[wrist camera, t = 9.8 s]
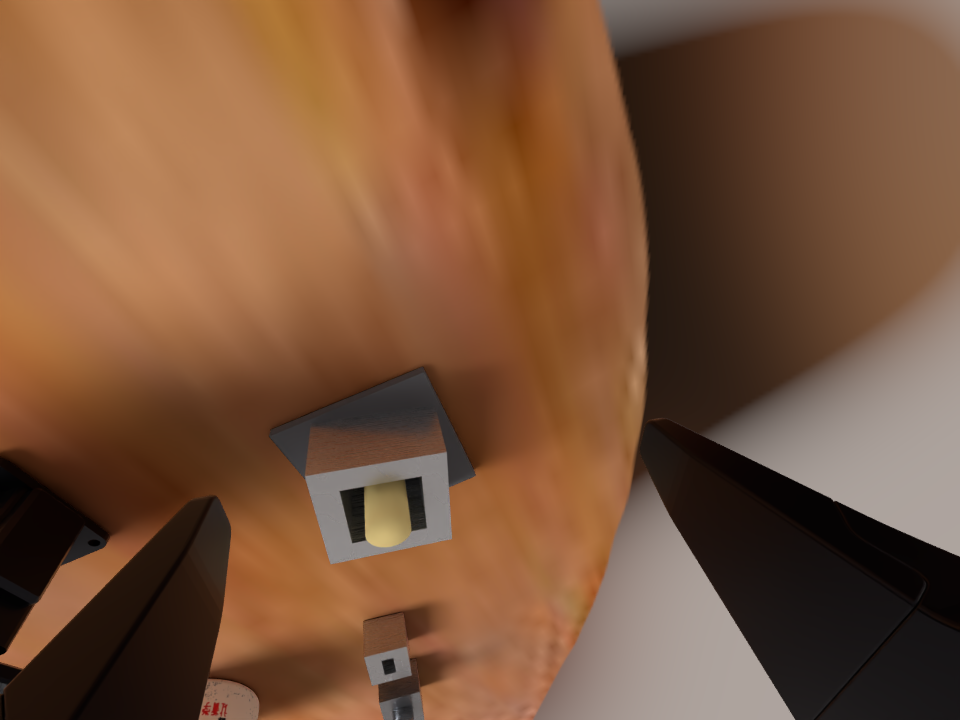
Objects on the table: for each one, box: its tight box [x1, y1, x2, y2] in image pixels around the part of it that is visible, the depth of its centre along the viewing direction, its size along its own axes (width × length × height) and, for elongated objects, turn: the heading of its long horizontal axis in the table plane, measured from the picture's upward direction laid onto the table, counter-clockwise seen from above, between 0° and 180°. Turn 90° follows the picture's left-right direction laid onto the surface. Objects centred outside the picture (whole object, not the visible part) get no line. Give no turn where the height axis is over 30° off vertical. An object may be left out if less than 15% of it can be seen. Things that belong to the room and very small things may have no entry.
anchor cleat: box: [378, 658, 424, 720], centre depth 35 cm, size 5×3×5 cm, turn 1°
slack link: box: [363, 612, 412, 686], centre depth 32 cm, size 4×3×2 cm
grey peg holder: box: [269, 367, 476, 547], centre depth 22 cm, size 8×8×5 cm
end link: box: [305, 405, 452, 564], centre depth 22 cm, size 6×6×4 cm
